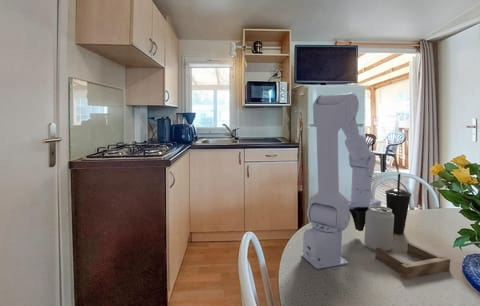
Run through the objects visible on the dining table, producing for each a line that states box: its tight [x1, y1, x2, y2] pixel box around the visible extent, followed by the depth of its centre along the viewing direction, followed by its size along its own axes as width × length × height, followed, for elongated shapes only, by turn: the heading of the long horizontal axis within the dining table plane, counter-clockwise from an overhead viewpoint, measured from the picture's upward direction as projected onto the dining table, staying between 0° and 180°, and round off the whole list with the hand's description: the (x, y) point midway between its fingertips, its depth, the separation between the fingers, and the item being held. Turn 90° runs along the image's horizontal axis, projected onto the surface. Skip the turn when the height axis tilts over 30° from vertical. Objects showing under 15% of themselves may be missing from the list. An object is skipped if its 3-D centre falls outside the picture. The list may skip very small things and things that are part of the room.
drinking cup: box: [385, 173, 412, 236], centre depth 94 cm, size 8×8×20 cm
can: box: [363, 205, 394, 252], centre depth 83 cm, size 8×8×12 cm
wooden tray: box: [374, 242, 451, 281], centre depth 73 cm, size 14×10×3 cm
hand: (359, 229), depth 91 cm, fingers closed
